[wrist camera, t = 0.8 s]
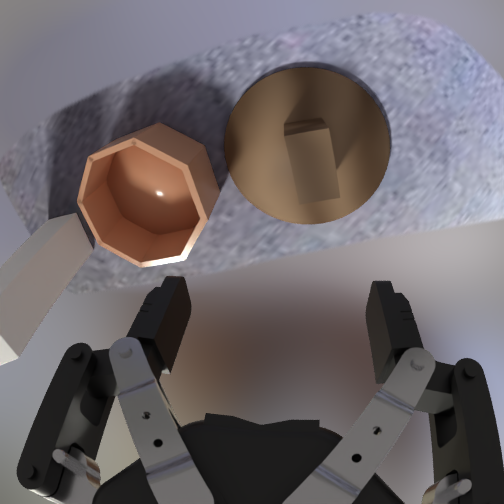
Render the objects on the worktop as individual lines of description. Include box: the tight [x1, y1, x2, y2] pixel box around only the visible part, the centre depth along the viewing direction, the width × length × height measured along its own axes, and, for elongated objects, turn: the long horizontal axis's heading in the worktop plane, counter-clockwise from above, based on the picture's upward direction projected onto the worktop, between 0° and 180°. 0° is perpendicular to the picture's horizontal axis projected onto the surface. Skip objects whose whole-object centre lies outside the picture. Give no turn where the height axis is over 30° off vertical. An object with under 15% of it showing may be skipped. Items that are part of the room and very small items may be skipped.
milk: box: [0, 213, 94, 365], centre depth 28 cm, size 6×6×22 cm
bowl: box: [77, 122, 220, 268], centre depth 29 cm, size 13×13×6 cm
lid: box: [224, 67, 390, 224], centre depth 26 cm, size 16×16×6 cm
